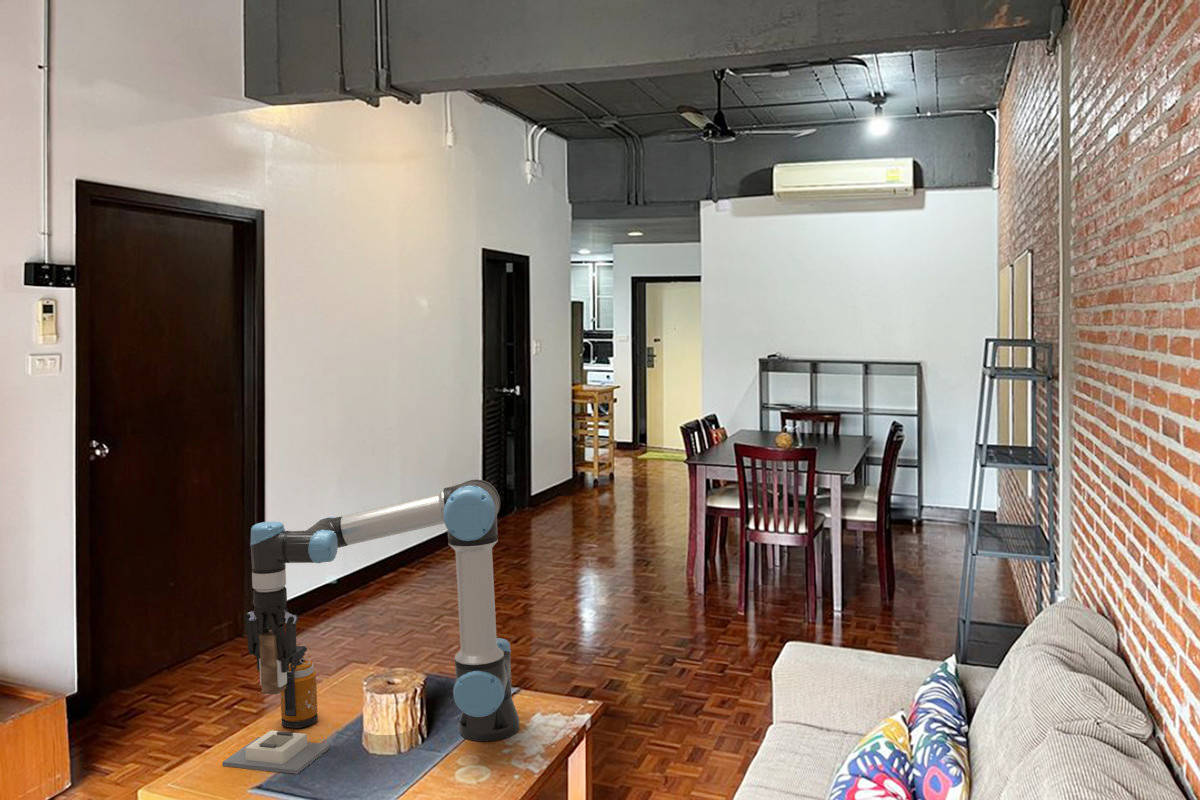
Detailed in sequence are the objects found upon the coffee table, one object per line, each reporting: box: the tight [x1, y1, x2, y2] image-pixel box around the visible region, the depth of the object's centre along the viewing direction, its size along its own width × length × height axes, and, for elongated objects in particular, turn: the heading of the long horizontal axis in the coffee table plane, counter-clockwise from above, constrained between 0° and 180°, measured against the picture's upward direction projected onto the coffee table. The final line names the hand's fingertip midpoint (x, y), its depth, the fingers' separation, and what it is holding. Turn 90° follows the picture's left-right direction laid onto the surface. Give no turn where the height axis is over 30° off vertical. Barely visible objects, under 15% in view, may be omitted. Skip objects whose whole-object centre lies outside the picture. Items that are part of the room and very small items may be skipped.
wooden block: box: [259, 629, 286, 696], centre depth 223 cm, size 4×4×14 cm
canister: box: [279, 645, 319, 729], centre depth 243 cm, size 9×11×20 cm
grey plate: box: [221, 730, 331, 775], centre depth 225 cm, size 20×14×5 cm
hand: (273, 684), depth 224 cm, fingers closed on wooden block, 4 cm apart
